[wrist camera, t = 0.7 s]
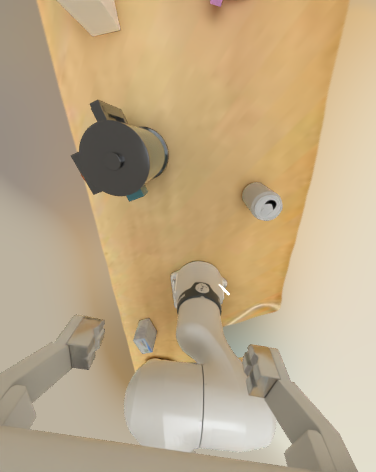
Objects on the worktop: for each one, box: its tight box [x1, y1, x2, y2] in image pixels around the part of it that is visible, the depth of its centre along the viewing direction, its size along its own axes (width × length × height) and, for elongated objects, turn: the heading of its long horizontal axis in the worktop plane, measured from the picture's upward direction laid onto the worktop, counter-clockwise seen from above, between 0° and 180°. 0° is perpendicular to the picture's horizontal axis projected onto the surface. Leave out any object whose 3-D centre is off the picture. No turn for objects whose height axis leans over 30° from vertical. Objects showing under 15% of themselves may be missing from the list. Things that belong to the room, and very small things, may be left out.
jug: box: [71, 100, 169, 202], centre depth 38 cm, size 13×16×20 cm
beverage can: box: [242, 182, 282, 221], centre depth 45 cm, size 6×6×12 cm
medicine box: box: [133, 318, 157, 354], centre depth 71 cm, size 8×4×9 cm, turn 18°
